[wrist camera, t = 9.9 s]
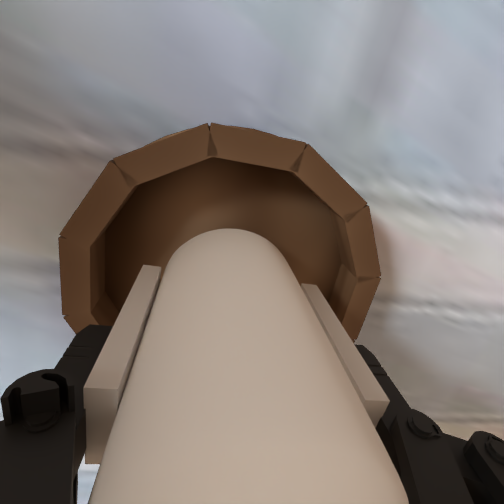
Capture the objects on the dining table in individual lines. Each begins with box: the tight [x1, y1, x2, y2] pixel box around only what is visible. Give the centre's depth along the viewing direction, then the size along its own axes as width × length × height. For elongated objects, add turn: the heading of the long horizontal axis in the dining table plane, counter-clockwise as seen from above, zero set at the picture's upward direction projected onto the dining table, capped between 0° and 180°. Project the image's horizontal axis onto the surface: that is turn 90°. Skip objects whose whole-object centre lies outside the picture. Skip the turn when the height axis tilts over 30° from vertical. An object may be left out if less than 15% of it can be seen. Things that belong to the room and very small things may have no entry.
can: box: [88, 229, 409, 504], centre depth 10 cm, size 6×6×12 cm
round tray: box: [58, 123, 381, 343], centre depth 16 cm, size 15×15×3 cm
